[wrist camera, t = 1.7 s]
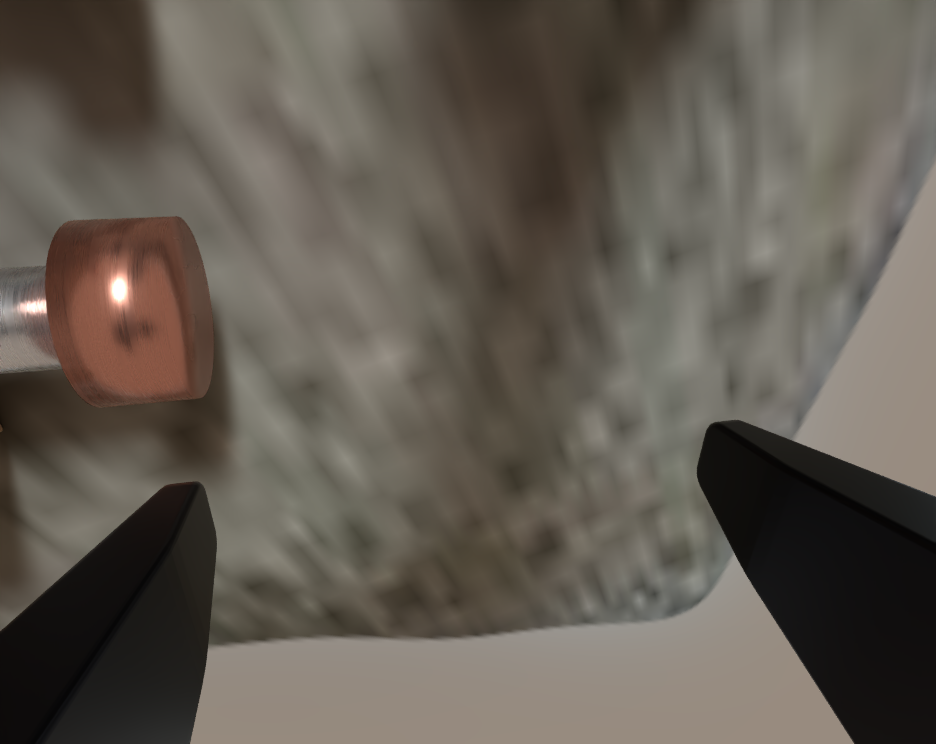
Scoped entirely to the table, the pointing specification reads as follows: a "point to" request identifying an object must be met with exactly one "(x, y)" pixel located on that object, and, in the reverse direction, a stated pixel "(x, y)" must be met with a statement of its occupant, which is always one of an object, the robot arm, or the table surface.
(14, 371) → the brick knob
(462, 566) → the table surface
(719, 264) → the table surface
